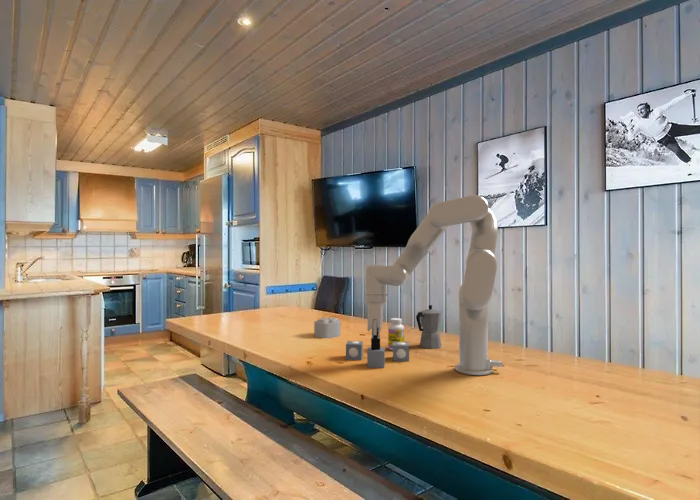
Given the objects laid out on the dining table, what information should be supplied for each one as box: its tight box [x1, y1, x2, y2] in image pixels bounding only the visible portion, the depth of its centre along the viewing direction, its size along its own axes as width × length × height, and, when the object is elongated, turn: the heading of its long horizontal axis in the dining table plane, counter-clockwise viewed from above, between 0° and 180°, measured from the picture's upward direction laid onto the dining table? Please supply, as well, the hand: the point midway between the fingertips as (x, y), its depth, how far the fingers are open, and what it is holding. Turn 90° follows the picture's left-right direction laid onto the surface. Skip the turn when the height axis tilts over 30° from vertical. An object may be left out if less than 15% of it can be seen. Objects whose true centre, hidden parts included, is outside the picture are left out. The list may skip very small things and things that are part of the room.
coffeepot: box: [415, 304, 442, 350], centre depth 185 cm, size 15×9×18 cm, turn 129°
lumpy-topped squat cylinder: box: [313, 316, 342, 339], centre depth 210 cm, size 10×13×9 cm
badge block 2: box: [392, 341, 410, 362], centre depth 165 cm, size 6×6×6 cm
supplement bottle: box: [387, 317, 405, 351], centre depth 181 cm, size 7×7×13 cm
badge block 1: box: [345, 340, 364, 361], centre depth 167 cm, size 6×6×6 cm
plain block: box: [366, 346, 386, 369], centre depth 156 cm, size 6×6×6 cm
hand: (375, 349), depth 156 cm, fingers closed
